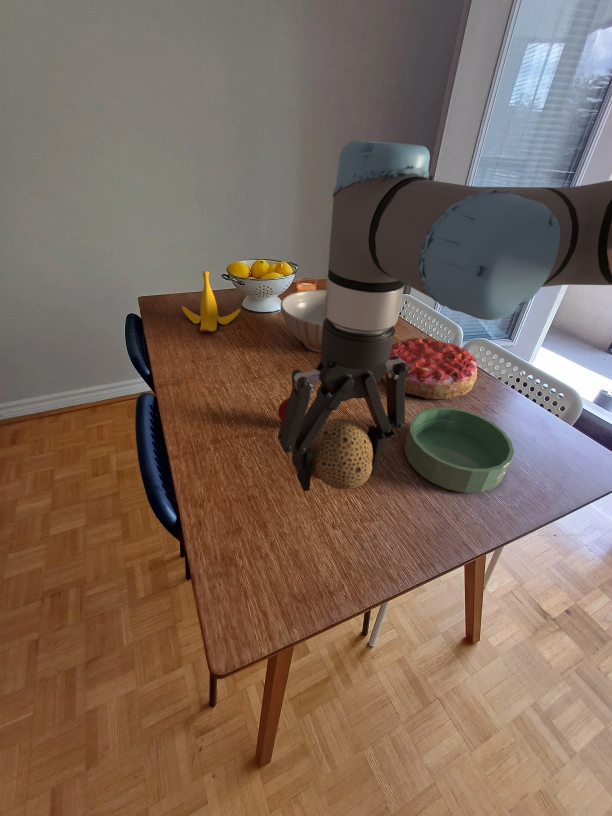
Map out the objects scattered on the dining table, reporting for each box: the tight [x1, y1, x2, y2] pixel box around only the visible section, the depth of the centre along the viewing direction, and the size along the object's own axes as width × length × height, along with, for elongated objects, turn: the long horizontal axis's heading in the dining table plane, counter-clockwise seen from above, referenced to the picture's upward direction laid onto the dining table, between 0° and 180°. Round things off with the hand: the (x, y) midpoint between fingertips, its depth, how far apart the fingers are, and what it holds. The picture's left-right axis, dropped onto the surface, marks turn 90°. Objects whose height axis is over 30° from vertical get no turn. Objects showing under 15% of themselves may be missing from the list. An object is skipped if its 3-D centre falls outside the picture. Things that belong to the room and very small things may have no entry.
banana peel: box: [181, 270, 242, 332], centre depth 121 cm, size 17×19×17 cm
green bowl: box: [403, 406, 515, 494], centre depth 80 cm, size 20×20×6 cm
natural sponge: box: [310, 417, 373, 490], centre depth 52 cm, size 9×9×10 cm
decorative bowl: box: [280, 289, 326, 354], centre depth 117 cm, size 27×27×12 cm
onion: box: [277, 397, 290, 422], centre depth 85 cm, size 6×6×8 cm
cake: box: [381, 337, 478, 401], centre depth 106 cm, size 25×25×8 cm
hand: (336, 475), depth 54 cm, fingers closed on natural sponge, 9 cm apart
